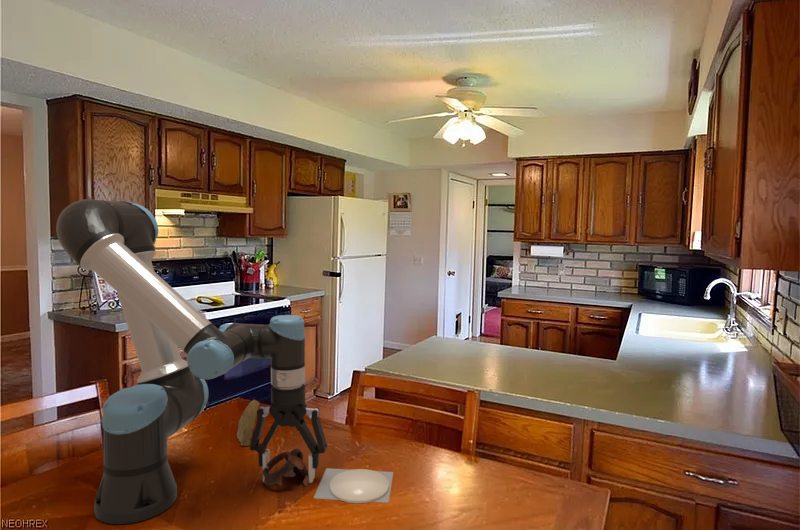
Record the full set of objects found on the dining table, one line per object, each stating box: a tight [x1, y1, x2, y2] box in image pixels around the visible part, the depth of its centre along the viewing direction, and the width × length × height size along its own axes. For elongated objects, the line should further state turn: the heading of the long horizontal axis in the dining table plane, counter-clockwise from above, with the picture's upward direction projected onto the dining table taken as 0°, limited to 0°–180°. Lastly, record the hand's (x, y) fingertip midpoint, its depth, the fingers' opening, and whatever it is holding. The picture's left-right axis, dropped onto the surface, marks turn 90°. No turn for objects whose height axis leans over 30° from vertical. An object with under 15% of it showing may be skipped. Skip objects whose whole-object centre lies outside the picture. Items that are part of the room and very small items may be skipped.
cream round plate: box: [330, 468, 389, 504], centre depth 110 cm, size 13×13×1 cm
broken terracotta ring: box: [262, 448, 310, 487], centre depth 113 cm, size 12×10×8 cm
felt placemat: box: [313, 467, 394, 504], centre depth 111 cm, size 16×13×1 cm
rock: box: [236, 399, 260, 447], centre depth 134 cm, size 11×9×10 cm
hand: (289, 480), depth 113 cm, fingers open, 10 cm apart
